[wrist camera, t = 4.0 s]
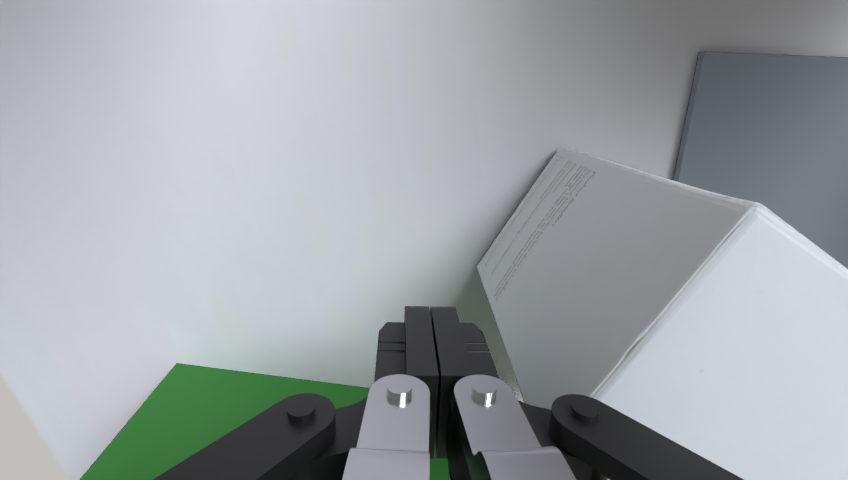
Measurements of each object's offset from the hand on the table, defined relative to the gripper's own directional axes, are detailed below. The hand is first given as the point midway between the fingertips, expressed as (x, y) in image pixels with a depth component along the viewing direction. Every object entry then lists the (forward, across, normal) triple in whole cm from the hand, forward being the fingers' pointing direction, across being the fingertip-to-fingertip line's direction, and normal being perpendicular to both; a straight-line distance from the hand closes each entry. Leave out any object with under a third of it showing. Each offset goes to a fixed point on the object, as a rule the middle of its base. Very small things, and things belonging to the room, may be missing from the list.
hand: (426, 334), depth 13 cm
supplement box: (+9, -8, 0) cm, 12 cm away
